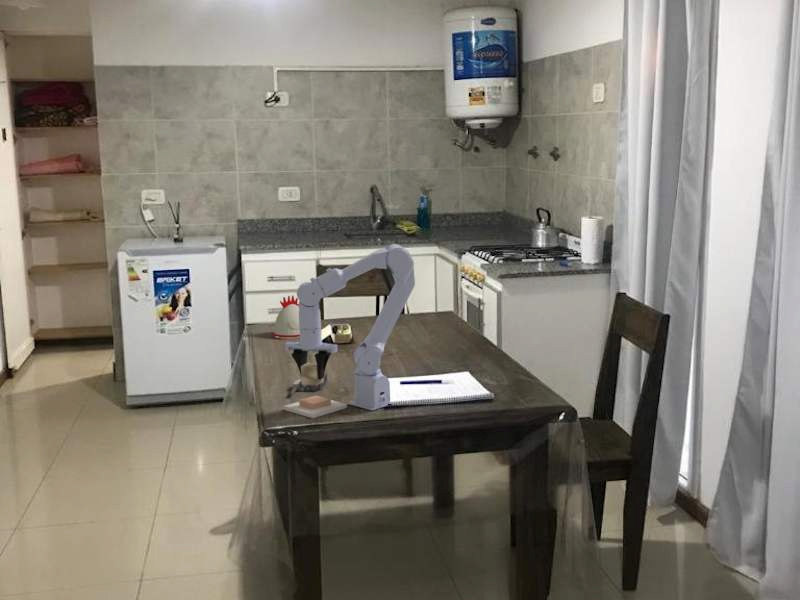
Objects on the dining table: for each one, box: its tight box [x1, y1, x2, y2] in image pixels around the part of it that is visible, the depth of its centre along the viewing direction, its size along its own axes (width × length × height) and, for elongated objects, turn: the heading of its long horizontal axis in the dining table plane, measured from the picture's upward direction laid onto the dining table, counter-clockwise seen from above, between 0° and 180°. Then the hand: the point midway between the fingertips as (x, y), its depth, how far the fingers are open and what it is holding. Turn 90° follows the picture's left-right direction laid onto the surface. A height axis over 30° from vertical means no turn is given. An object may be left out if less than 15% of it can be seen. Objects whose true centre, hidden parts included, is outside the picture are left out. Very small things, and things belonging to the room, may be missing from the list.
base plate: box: [282, 395, 348, 419], centre depth 248 cm, size 12×12×2 cm
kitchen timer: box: [273, 295, 300, 337], centre depth 342 cm, size 14×14×15 cm
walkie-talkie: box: [288, 371, 328, 396], centre depth 269 cm, size 9×4×20 cm
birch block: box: [300, 361, 324, 386], centre depth 248 cm, size 4×4×5 cm
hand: (312, 377), depth 248 cm, fingers closed on birch block, 4 cm apart
